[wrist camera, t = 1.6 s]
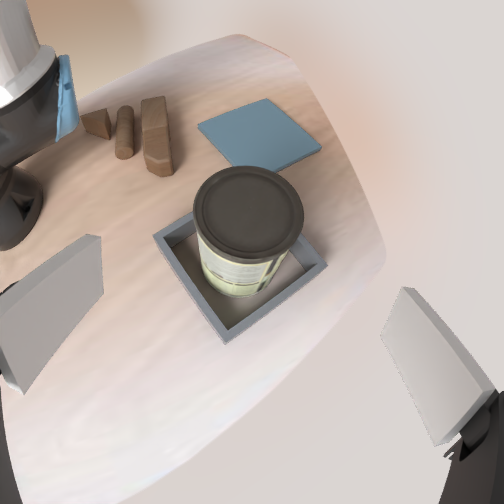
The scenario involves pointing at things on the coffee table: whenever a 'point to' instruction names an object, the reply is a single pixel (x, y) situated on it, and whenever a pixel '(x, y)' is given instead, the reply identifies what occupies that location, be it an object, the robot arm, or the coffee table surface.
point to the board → (259, 137)
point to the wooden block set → (152, 130)
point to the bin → (164, 243)
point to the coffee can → (245, 228)
